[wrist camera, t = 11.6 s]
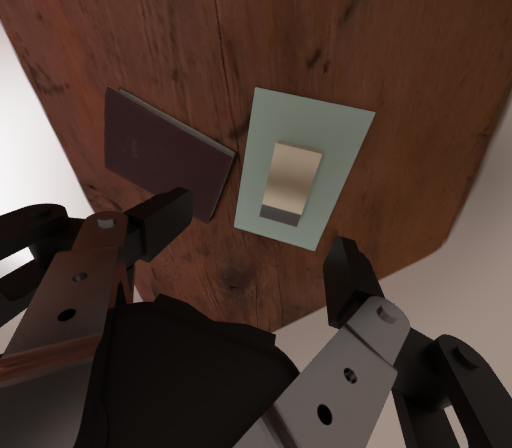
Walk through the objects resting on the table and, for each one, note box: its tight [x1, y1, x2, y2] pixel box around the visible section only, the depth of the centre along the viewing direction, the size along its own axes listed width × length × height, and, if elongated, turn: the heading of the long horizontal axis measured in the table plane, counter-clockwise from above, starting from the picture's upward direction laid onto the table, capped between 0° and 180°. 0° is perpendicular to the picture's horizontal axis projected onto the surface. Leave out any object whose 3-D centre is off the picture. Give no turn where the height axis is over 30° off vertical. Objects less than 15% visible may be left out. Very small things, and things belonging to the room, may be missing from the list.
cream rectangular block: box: [259, 140, 322, 227], centre depth 26 cm, size 10×6×3 cm, turn 169°
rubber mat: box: [234, 87, 376, 251], centre depth 28 cm, size 14×20×1 cm
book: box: [104, 87, 237, 224], centre depth 30 cm, size 12×19×3 cm, turn 64°
